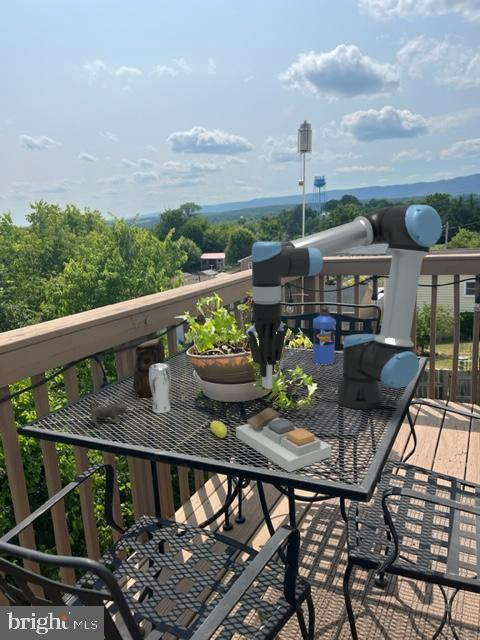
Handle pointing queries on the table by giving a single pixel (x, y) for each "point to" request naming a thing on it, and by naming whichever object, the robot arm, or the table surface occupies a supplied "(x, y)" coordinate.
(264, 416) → the walnut rocker
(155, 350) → the dark brown speaker
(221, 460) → the table surface
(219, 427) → the lemon
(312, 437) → the orange button
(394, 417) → the table surface
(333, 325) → the water bottle
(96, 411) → the dog figurine
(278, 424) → the charcoal button
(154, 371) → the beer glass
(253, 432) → the switch housing
